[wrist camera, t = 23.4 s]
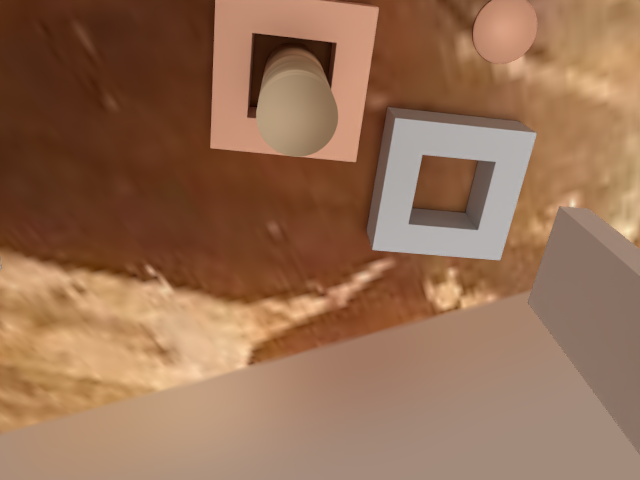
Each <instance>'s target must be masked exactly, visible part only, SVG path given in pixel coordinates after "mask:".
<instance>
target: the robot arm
mask: <svg viewBox="0 0 640 480" xmlns="http://www.w3.org/2000/svg"><path fill="white" fill-rule="evenodd" d="M1 269H2V265H1V258H0V270H1ZM528 304H529V305H530V306H531V308H532V309H533V310H534V312H535V313H536V314H537V316H538V317H539V319H540V320H541V321H542V323H543V324H544V325H545V327H546V328H547V329H548V331H549V332H550V334H551V335H552V336H553V338H554V339H555V340H556V342H557V343H558V344H559V346H560V347H561V348H562V350H563V351H564V353H565V354H566V355H567V357H568V358H569V359H570V361H571V362H572V363H573V365H574V366H575V367H576V369H577V370H578V372H579V373H580V374H581V376H582V377H583V378H584V380H585V381H586V382H587V384H588V385H589V386H590V388H591V389H592V390H593V392H594V393H595V395H596V396H597V397H598V399H599V400H600V401H601V403H602V404H603V405H604V407H605V408H606V410H607V411H608V412H609V414H610V415H611V416H612V418H613V419H614V420H615V422H616V423H617V424H618V426H619V427H620V428H621V430H622V431H623V433H624V434H625V435H626V437H627V438H628V439H629V441H630V442H631V443H632V445H633V446H634V447H635V449H636V450H637V452H638V453H639V454H640V249H639V248H638V247H637V246H635V245H634V244H633V243H632V242H630V241H629V240H628V239H626V238H625V237H624V236H623V235H621V234H620V233H619V232H618V231H616V230H615V229H614V228H613V227H611V226H610V225H609V224H607V223H606V222H605V221H604V220H602V219H601V218H600V217H599V216H597V215H596V214H595V213H594V212H592V211H591V210H590V209H585V208H573V207H562V206H559V209H558V212H557V215H556V218H555V221H554V224H553V227H552V230H551V233H550V236H549V239H548V242H547V245H546V248H545V251H544V254H543V257H542V260H541V263H540V266H539V269H538V272H537V276H536V279H535V282H534V285H533V288H532V291H531V294H530V297H529V300H528Z"/></svg>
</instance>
